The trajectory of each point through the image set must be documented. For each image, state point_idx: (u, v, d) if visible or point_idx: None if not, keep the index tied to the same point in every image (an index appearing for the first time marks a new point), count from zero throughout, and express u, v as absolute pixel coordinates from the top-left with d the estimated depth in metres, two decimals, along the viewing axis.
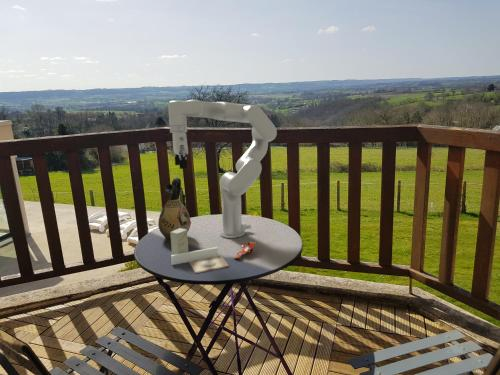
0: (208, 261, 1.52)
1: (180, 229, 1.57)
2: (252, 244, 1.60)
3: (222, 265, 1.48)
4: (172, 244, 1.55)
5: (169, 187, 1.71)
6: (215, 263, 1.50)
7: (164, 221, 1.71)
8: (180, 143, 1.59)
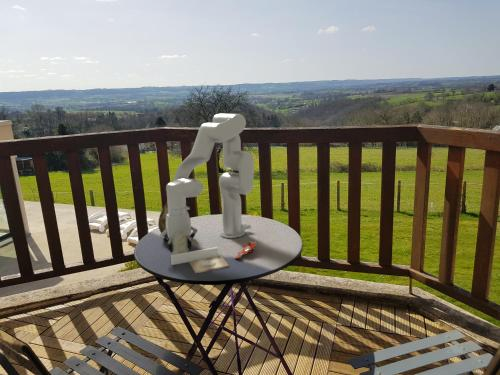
0: (208, 261, 1.52)
1: None
2: (253, 244, 1.60)
3: (222, 265, 1.48)
4: (172, 244, 1.55)
5: None
6: (215, 263, 1.50)
7: (164, 221, 1.71)
8: None
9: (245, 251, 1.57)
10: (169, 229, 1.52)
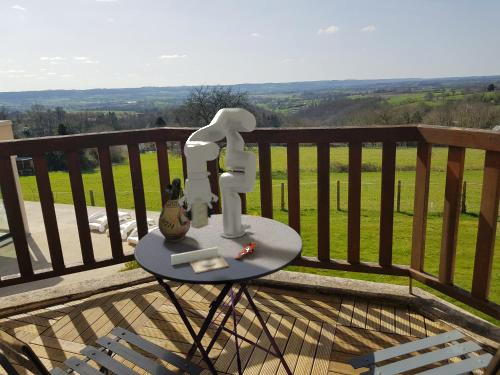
0: (208, 261, 1.52)
1: None
2: (253, 244, 1.60)
3: (222, 265, 1.48)
4: (191, 212, 1.45)
5: (169, 187, 1.71)
6: (215, 263, 1.50)
7: (164, 221, 1.71)
8: None
9: (246, 251, 1.57)
10: (188, 195, 1.42)
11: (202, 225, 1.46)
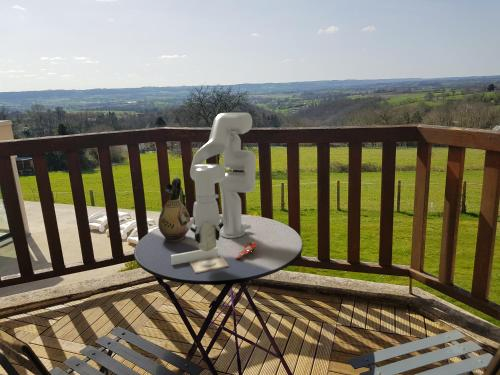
0: (208, 261, 1.52)
1: None
2: (254, 244, 1.60)
3: (222, 265, 1.48)
4: (200, 234, 1.45)
5: (169, 187, 1.71)
6: (215, 263, 1.50)
7: (164, 221, 1.71)
8: None
9: (246, 251, 1.57)
10: (197, 218, 1.42)
11: (210, 248, 1.46)
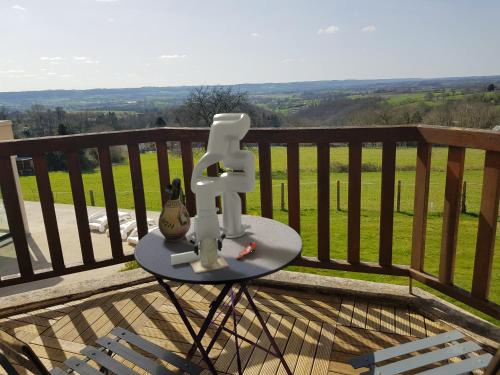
0: None
1: None
2: (254, 244, 1.60)
3: (222, 265, 1.48)
4: (201, 250, 1.47)
5: (169, 187, 1.71)
6: (215, 263, 1.50)
7: (164, 221, 1.71)
8: None
9: (246, 251, 1.57)
10: (198, 231, 1.43)
11: (211, 263, 1.48)
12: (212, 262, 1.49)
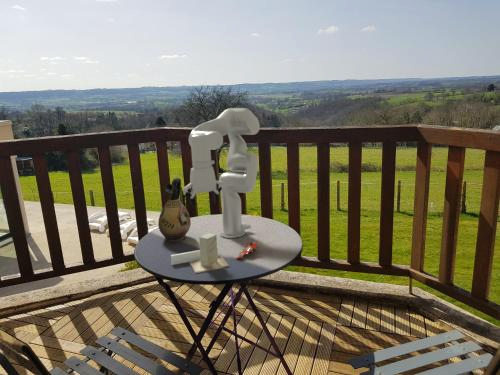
0: None
1: (209, 234, 1.49)
2: (254, 244, 1.60)
3: (222, 265, 1.48)
4: (201, 250, 1.47)
5: (169, 187, 1.71)
6: (215, 263, 1.50)
7: (164, 221, 1.71)
8: None
9: (246, 251, 1.57)
10: (194, 183, 1.46)
11: (211, 263, 1.48)
12: (212, 262, 1.49)
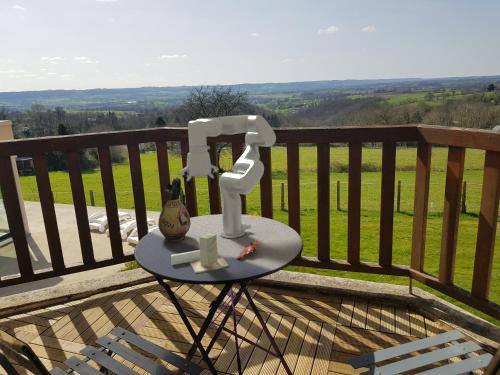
0: None
1: (209, 234, 1.49)
2: (255, 244, 1.60)
3: (222, 265, 1.48)
4: (201, 250, 1.47)
5: (169, 187, 1.71)
6: (215, 263, 1.50)
7: (164, 221, 1.71)
8: None
9: (247, 251, 1.57)
10: (190, 166, 1.56)
11: (211, 263, 1.48)
12: (212, 262, 1.49)
